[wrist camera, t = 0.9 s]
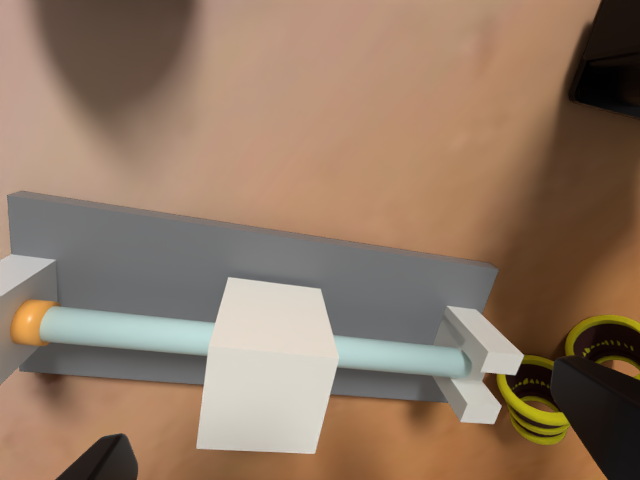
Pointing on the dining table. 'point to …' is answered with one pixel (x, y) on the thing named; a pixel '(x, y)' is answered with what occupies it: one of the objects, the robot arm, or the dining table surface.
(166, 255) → the linear slide rail
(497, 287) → the dining table surface
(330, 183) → the dining table surface
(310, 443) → the white square tube
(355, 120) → the dining table surface
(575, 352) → the opera glasses
